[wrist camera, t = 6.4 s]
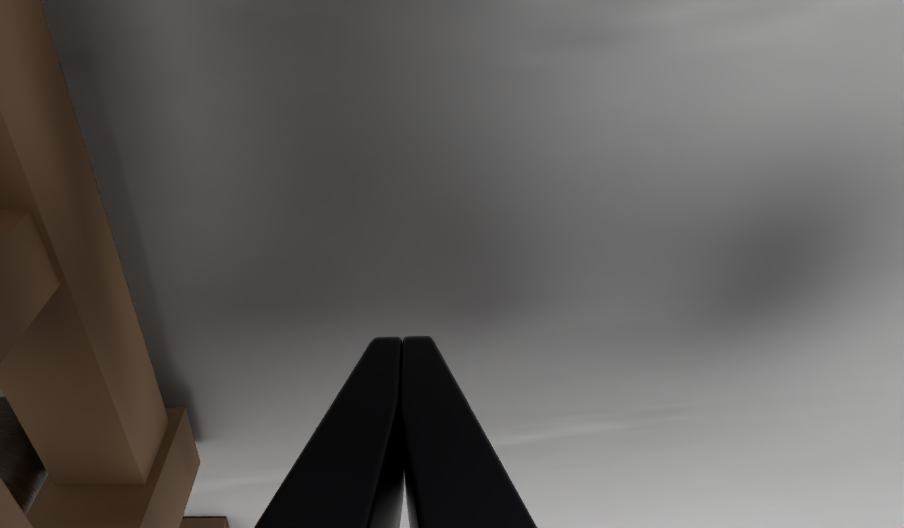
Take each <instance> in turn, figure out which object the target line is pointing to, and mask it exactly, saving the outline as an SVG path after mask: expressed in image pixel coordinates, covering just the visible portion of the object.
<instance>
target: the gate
mask: <svg viewBox="0 0 904 528" xmlns="http://www.w3.org/2000/svg"><path fill="white" fill-rule="evenodd" d="M0 387H1V389H2V391H3V393H4V395H5V396H6V398H7V400H8V402H9V404H10V405H11V407H12V409H13V411H14V413H15V414H16V416H17V418H18V420H19V422H20V423H21V425H22V427H23V429H24V431H25V432H26V434H27V436H28V438H29V440H30V441H31V443H32V445H33V447H34V449H35V450H36V452H37V454H38V456H39V457H40V459H41V461H42V463H43V465H44V466H45V468H46V470H47V472H48V476H47V478H46V479H45V481H44V483H43V485H42V487H41V488H40V490H39V492H38V494H37V496H36V498H35V499H34V501H33V503H32V505H31V507H30V508H29V510H28V512H27V514H26V516H25V515H24V513H23V511H22V510H21V508H20V507H19V505H18V504H17V502H16V501H15V499H14V498H13V496H12V495H11V493H10V491H9V490H8V488H7V487H6V485H5V484H4V482H3V481H2V479H1V478H0V528H179V526H180V523H181V520H182V517H183V514H184V511H185V508H186V505H187V502H188V499H189V495H190V492H191V489H192V486H193V483H194V480H195V477H196V474H197V471H198V468H199V465H200V459H199V456H198V452H197V448H196V445H195V441H194V437H193V434H192V430H191V426H190V423H189V419H188V415H187V412H186V408H167V407H164V403H163V400H162V397H161V394H160V390H159V387H158V384H157V380H156V377H155V374H154V371H153V367H152V364H151V361H150V358H149V354H148V351H147V348H146V344H145V341H144V338H143V335H142V331H141V328H140V325H139V322H138V318H137V315H136V312H135V308H134V305H133V302H132V299H131V295H130V292H129V289H128V286H127V282H126V279H125V276H124V272H123V269H122V266H121V263H120V259H119V256H118V253H117V250H116V246H115V243H114V240H113V236H112V233H111V230H110V227H109V223H108V220H107V217H106V214H105V210H104V207H103V204H102V200H101V197H100V194H99V191H98V187H97V184H96V181H95V178H94V174H93V171H92V168H91V164H90V161H89V158H88V155H87V151H86V148H85V145H84V142H83V138H82V135H81V132H80V128H79V125H78V122H77V119H76V115H75V112H74V109H73V106H72V102H71V99H70V96H69V92H68V89H67V86H66V83H65V79H64V76H63V73H62V70H61V66H60V63H59V60H58V56H57V53H56V50H55V47H54V43H53V40H52V37H51V34H50V30H49V27H48V24H47V20H46V17H45V14H44V11H43V7H42V4H41V1H40V0H0Z"/></svg>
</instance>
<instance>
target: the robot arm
mask: <svg viewBox="0 0 904 528" xmlns="http://www.w3.org/2000/svg"><path fill="white" fill-rule="evenodd" d="M404 473H405V487H406V498H407V508H408V516H409V524H410V528H537V526H536V525H535V523H534V521H533V519H532V517H531V516H530V514H529V512H528V510H527V508H526V507H525V505H524V503H523V501H522V499H521V498H520V496H519V494H518V492H517V490H516V489H515V487H514V485H513V483H512V481H511V480H510V478H509V476H508V474H507V472H506V470H505V469H504V467H503V465H502V463H501V461H500V460H499V458H498V456H497V454H496V452H495V451H494V449H493V447H492V445H491V443H490V442H489V440H488V438H487V436H486V434H485V433H484V431H483V429H482V427H481V425H480V424H479V422H478V420H477V418H476V416H475V414H474V413H473V411H472V409H471V407H470V405H469V404H468V402H467V400H466V398H465V396H464V395H463V393H462V391H461V389H460V387H459V386H458V384H457V382H456V380H455V378H454V377H453V375H452V373H451V371H450V369H449V368H448V366H447V364H446V362H445V360H444V359H443V357H442V355H441V353H440V351H439V349H438V348H437V346H436V344H435V342H434V341H433V339H432V338H431V337H429V336H409V337H405V338H404V339H403V343H402V340H401V338H399V337H377V338H374V339H373V340H372V341H371V342H370V344H369V346H368V347H367V349H366V350H365V352H364V354H363V355H362V357H361V358H360V360H359V362H358V363H357V365H356V366H355V368H354V369H353V371H352V373H351V374H350V376H349V377H348V379H347V381H346V382H345V384H344V385H343V387H342V389H341V390H340V392H339V393H338V395H337V397H336V398H335V400H334V401H333V403H332V405H331V406H330V408H329V409H328V411H327V413H326V414H325V416H324V417H323V419H322V420H321V422H320V424H319V425H318V427H317V428H316V430H315V432H314V433H313V435H312V436H311V438H310V440H309V441H308V443H307V444H306V446H305V448H304V449H303V451H302V452H301V454H300V456H299V457H298V459H297V460H296V462H295V463H294V465H293V467H292V468H291V470H290V471H289V473H288V475H287V476H286V478H285V479H284V481H283V483H282V484H281V486H280V487H279V489H278V491H277V492H276V494H275V495H274V497H273V499H272V500H271V502H270V503H269V505H268V507H267V508H266V510H265V511H264V513H263V514H262V516H261V518H260V519H259V521H258V522H257V524H256V526H255V527H254V528H400V520H401V511H402V503H403V493H404Z"/></svg>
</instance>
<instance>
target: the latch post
mask: <svg viewBox="0 0 904 528" xmlns="http://www.w3.org/2000/svg"><path fill="white" fill-rule="evenodd" d="M47 476H48V472H47V470H46V468H45V466H44V465H43V463H42V461H41V459H40V457H39V456H38V454H37V452H36V450H35V449H34V447H33V445H32V443H31V441H30V440H29V438H28V436H27V434H26V432H25V431H24V429H23V427H22V425H21V423H20V422H19V420H18V418H17V416H16V414H15V413H14V411H13V409H12V407H11V405H10V404H9V402H8V400H7V398H6V396H5V395H4V393H3V391H2V389H1V387H0V478H1V479H2V481H3V482H4V484H5V485H6V487H7V488H8V490H9V491H10V493H11V495H12V496H13V498H14V499H15V501H16V502H17V504H18V505H19V507H20V508H21V510H22V511H23V513H24V515H25V516H26V514H27V512H28V510H29V508H30V507H31V505H32V503H33V501H34V499H35V498H36V496H37V494H38V492H39V490H40V488H41V487H42V485H43V483H44V481H45V479H46V478H47Z"/></svg>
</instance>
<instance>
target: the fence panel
mask: <svg viewBox="0 0 904 528" xmlns="http://www.w3.org/2000/svg"><path fill="white" fill-rule="evenodd" d="M179 528H228V524H227V520H226V518H182V520H181V523H180V526H179Z"/></svg>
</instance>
